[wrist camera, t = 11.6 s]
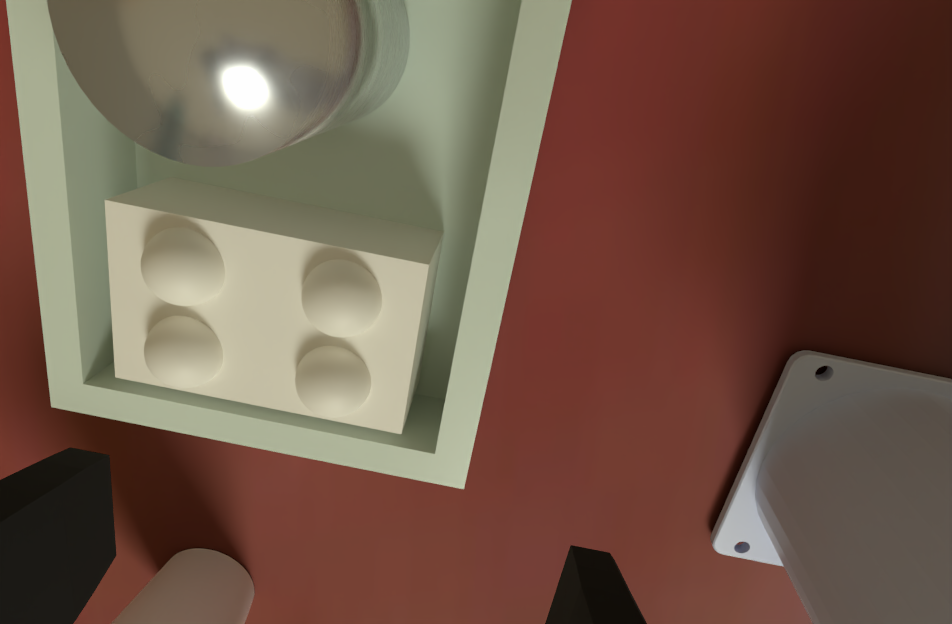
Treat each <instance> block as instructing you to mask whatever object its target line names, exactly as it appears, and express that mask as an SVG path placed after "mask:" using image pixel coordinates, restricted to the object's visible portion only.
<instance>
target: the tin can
mask: <svg viewBox="0 0 952 624" xmlns="http://www.w3.org/2000/svg"><path fill="white" fill-rule="evenodd" d="M47 4H48V11H49V15H50V19H51V23H52V28H53V31H54V34H55V37H56V40H57V43H58V45H59V48H60V51H61V53H62V55H63V57H64V59H65V62H66V64H67V66H68V68H69V70H70V72H71V73H72V75H73V77H74V78H75V80H76V82H77V83H78V85H79V86H80V88H81V89H82V91H83V92H84V93H85V95H86V96H87V97H88V99H89V100H90V101H91V103H92V104H93V105H94V106H95V107H96V108H97V110H98V111H99V112H100V113H101V114H102V115H103V116H104V117H105V118H106V119H107V120H108V121H109V122H110V123H111V124H112V125H114V126H115V127H116V128H117V129H118V130H119V131H120V132H122V133H123V134H124V135H126V136H127V137H129V138H130V139H131V140H133V141H134V142H136V143H137V144H139V145H141V146H143V147H144V148H146V149H148V150H150V151H151V152H153V153H156V154H158V155H161V156H163V157H165V158H168V159H171V160H174V161H178V162H181V163H185V164H190V165H196V166H203V167H222V166H230V165H237V164H241V163H245V162H248V161H252V160H254V159H257V158H260V157H262V156H265V155H267V154H270V153H272V152H275V151H278V150H280V149H283V148H285V147H288V146H290V145H293V144H296V143H298V142H301V141H303V140H306V139H308V138H311V137H313V136H316V135H319V134H321V133H324V132H326V131H329V130H331V129H334V128H337V127H339V126H342V125H344V124H347V123H349V122H352V121H355V120H357V119H360V118H362V117H364V116H366V115H368V114H370V113H372V112H373V111H375V110H376V109H378V108H379V107H380V106H381V105H382V104H383V103H385V102H386V100H387V99H388V98H389V97H390V96H391V95H392V93H393V92H394V90H395V89H396V87H397V86H398V84H399V82H400V80H401V78H402V76H403V74H404V71H405V68H406V65H407V60H408V56H409V48H410V27H409V21H408V15H407V11H406V8H405V4H404V1H403V0H47Z"/></svg>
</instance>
